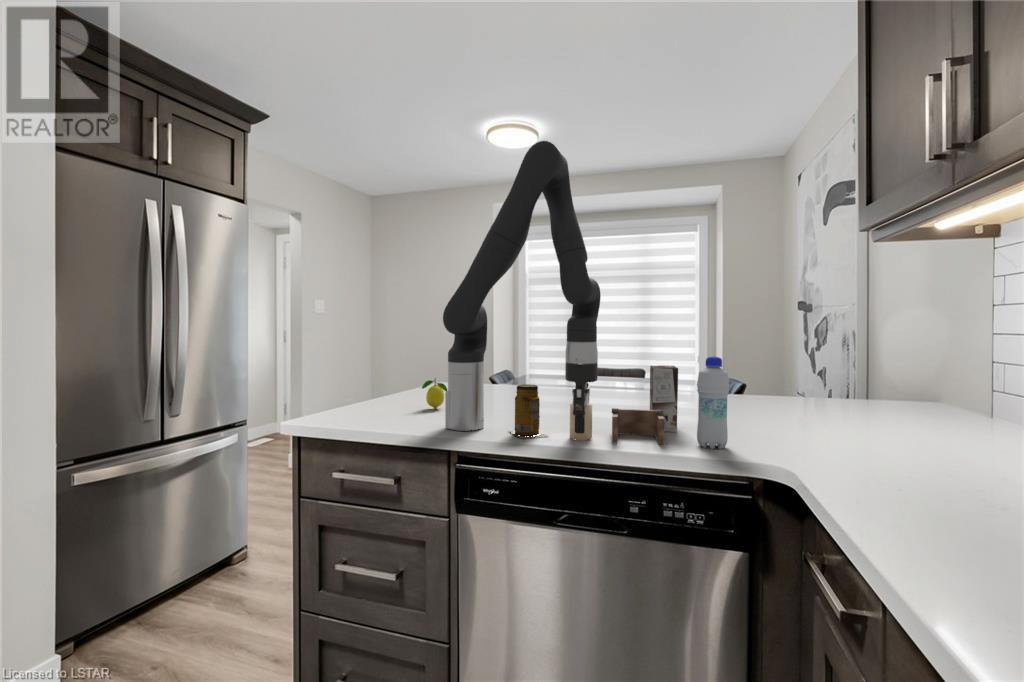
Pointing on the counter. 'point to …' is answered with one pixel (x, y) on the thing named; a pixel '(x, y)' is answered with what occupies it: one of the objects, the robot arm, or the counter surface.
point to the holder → (638, 423)
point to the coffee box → (665, 394)
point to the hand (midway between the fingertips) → (580, 429)
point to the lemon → (435, 393)
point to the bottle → (712, 404)
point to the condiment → (527, 412)
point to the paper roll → (588, 424)
